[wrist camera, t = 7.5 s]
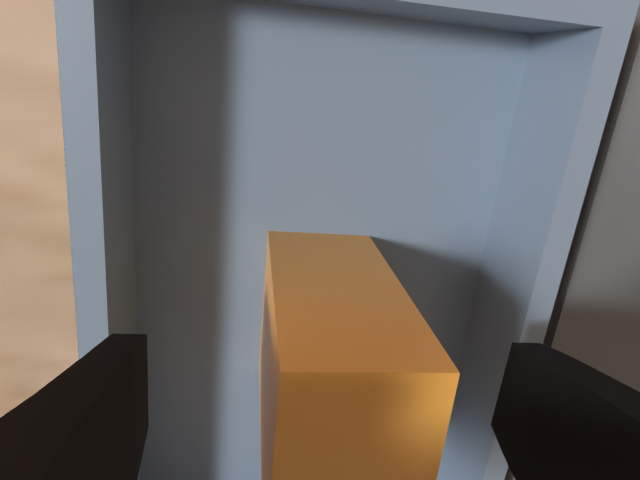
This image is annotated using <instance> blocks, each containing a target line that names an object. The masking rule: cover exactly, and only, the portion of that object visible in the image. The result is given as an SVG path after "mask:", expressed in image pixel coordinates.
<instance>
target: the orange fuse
mask: <svg viewBox="0 0 640 480" xmlns="http://www.w3.org/2000/svg"><path fill="white" fill-rule="evenodd" d="M459 376H460V372H459V371H458V369H457V368H456V366H455V365H454V363H453V362H452V360H451V359H450V357H449V356H448V354H447V353H446V351H445V349H444V348H443V346H442V345H441V343H440V342H439V340H438V339H437V337H436V336H435V334H434V333H433V331H432V330H431V328H430V327H429V325H428V324H427V322H426V321H425V319H424V318H423V316H422V315H421V313H420V312H419V310H418V309H417V307H416V306H415V304H414V303H413V301H412V300H411V298H410V297H409V295H408V294H407V292H406V291H405V289H404V288H403V286H402V285H401V283H400V281H399V280H398V278H397V277H396V275H395V274H394V272H393V271H392V269H391V268H390V266H389V265H388V263H387V262H386V260H385V259H384V257H383V256H382V254H381V253H380V251H379V250H378V248H377V247H376V245H375V244H374V242H373V241H372V239H371V238H370V236H362V235H342V234H322V233H302V232H283V231H268V238H267V254H266V269H265V285H264V300H263V316H262V331H261V347H260V362H259V386H260V438H261V480H437V475H438V471H439V466H440V462H441V457H442V453H443V448H444V444H445V439H446V435H447V430H448V426H449V421H450V417H451V412H452V408H453V403H454V399H455V394H456V390H457V385H458V381H459Z"/></svg>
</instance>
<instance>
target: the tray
mask: <svg viewBox="0 0 640 480" xmlns="http://www.w3.org/2000/svg"><path fill="white" fill-rule="evenodd" d="M639 4H640V0H54V7H55V21H56V36H57V50H58V65H59V79H60V94H61V108H62V122H63V137H64V151H65V166H66V180H67V195H68V209H69V224H70V238H71V253H72V267H73V282H74V296H75V311H76V325H77V340H78V354H79V359H81V358H82V357H83V356H84V355H85V354H87V353H88V352H89V351H90V350H92V349H93V348H94V347H95V346H97V345H98V344H99V343H100V342H102V341H103V340H104V339H106V338H107V337H108V336H110V335H111V334H147V358H148V419H149V427H148V431H147V436H146V441H145V446H144V451H143V456H142V460H141V465H140V469H139V474H138V478H137V480H261V438H260V386H259V362H260V347H261V331H262V316H263V300H264V285H265V269H266V254H267V238H268V231H283V232H302V233H322V234H342V235H362V236H370V238H371V239H372V241H373V242H374V244H375V245H376V247H377V248H378V250H379V251H380V253H381V254H382V256H383V257H384V259H385V260H386V262H387V263H388V265H389V266H390V268H391V269H392V271H393V272H394V274H395V275H396V277H397V278H398V280H399V281H400V283H401V285H402V286H403V288H404V289H405V291H406V292H407V294H408V295H409V297H410V298H411V300H412V301H413V303H414V304H415V306H416V307H417V309H418V310H419V312H420V313H421V315H422V316H423V318H424V319H425V321H426V322H427V324H428V325H429V327H430V328H431V330H432V331H433V333H434V334H435V336H436V337H437V339H438V340H439V342H440V343H441V345H442V346H443V348H444V349H445V351H446V353H447V354H448V356H449V357H450V359H451V360H452V362H453V363H454V365H455V366H456V368H457V369H458V371H459V372H460V376H459V381H458V385H457V390H456V394H455V399H454V403H453V408H452V412H451V417H450V421H449V426H448V430H447V435H446V439H445V444H444V448H443V453H442V457H441V462H440V466H439V471H438V475H437V480H504V479H505V476H506V472H507V469H508V464H507V462H506V459H505V457H504V455H503V453H502V451H501V448H500V446H499V443H498V441H497V438H496V436H495V434H494V431H493V429H492V426H491V421H492V418H493V414H494V410H495V406H496V402H497V398H498V395H499V391H500V387H501V383H502V379H503V375H504V372H505V368H506V364H507V360H508V356H509V352H510V348H511V345H512V342H517V343H541V344H543V342H544V338H545V335H546V331H547V328H548V324H549V321H550V317H551V314H552V310H553V307H554V303H555V300H556V296H557V293H558V289H559V285H560V282H561V278H562V275H563V271H564V268H565V264H566V261H567V257H568V254H569V250H570V247H571V243H572V240H573V236H574V233H575V229H576V226H577V222H578V219H579V215H580V212H581V208H582V204H583V201H584V197H585V194H586V190H587V187H588V183H589V180H590V176H591V173H592V169H593V166H594V162H595V159H596V155H597V152H598V148H599V145H600V141H601V138H602V134H603V131H604V127H605V123H606V120H607V116H608V113H609V109H610V106H611V102H612V99H613V95H614V92H615V88H616V85H617V81H618V78H619V74H620V71H621V67H622V64H623V60H624V57H625V53H626V49H627V46H628V42H629V39H630V35H631V32H632V28H633V25H634V21H635V18H636V14H637V11H638V7H639Z"/></svg>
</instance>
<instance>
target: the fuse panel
mask: <svg viewBox="0 0 640 480" xmlns="http://www.w3.org/2000/svg"><path fill="white" fill-rule="evenodd" d="M543 344H544V345H546V346H549V347H551V348H553V349H556V350H558V351H560V352H562V353H565V354H567V355H569V356H571V357H573V358H575V359H577V360H579V361H581V362H583V363H585V364H587V365H589V366H591V367H593V368H594V369H596V370H598V371H600V372H602V373H604V374H606V375H608V376H610V377H612V378H614V379H616V380H618V381H619V382H621V383H623V384H625V385H627V386H629V387H631V388H633V389H635V390H637V391H639V392H640V4H639V7H638V11H637V14H636V18H635V21H634V25H633V28H632V32H631V35H630V39H629V42H628V46H627V49H626V53H625V57H624V60H623V64H622V67H621V71H620V74H619V78H618V81H617V85H616V88H615V92H614V95H613V99H612V102H611V106H610V109H609V113H608V116H607V120H606V123H605V127H604V131H603V134H602V138H601V141H600V145H599V148H598V152H597V155H596V159H595V162H594V166H593V169H592V173H591V176H590V180H589V183H588V187H587V190H586V194H585V197H584V201H583V204H582V208H581V212H580V215H579V219H578V222H577V226H576V229H575V233H574V236H573V240H572V243H571V247H570V250H569V254H568V257H567V261H566V264H565V268H564V271H563V275H562V278H561V282H560V285H559V289H558V293H557V296H556V300H555V303H554V307H553V310H552V314H551V317H550V321H549V324H548V328H547V331H546V335H545V338H544V342H543ZM504 480H516V479H515V477H514V476H513V474H512V472H511V470H510V468H509V466H508V469H507V472H506V476H505V479H504Z"/></svg>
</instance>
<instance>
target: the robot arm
mask: <svg viewBox="0 0 640 480" xmlns="http://www.w3.org/2000/svg"><path fill="white" fill-rule="evenodd" d="M491 426H492V429H493V431H494V434H495V436H496V438H497V441H498V443H499V446H500V448H501V451H502V453H503V455H504V457H505V459H506V462H507V464H508V466H509V468H510V470H511V472H512V474H513V476H514V477H515V479H516V480H640V392H639V391H637V390H635V389H633V388H631V387H629V386H627V385H625V384H623V383H621V382H619V381H618V380H616V379H614V378H612V377H610V376H608V375H606V374H604V373H602V372H600V371H598V370H596V369H594V368H593V367H591V366H589V365H587V364H585V363H583V362H581V361H579V360H577V359H575V358H573V357H571V356H569V355H567V354H565V353H562V352H560V351H558V350H556V349H553V348H551V347H549V346H546V345H544V344H541V343H517V342H512V345H511V348H510V352H509V356H508V360H507V364H506V368H505V372H504V375H503V379H502V383H501V387H500V391H499V395H498V398H497V402H496V406H495V410H494V414H493V418H492V421H491ZM148 427H149V419H148V358H147V334H111V335H110V336H108V337H107V338H106V339H104V340H103V341H102V342H100V343H99V344H98V345H97V346H95V347H94V348H93V349H92V350H90V351H89V352H88V353H87V354H85V355H84V356H83V357H82V358H81V359H79V360H78V361H77V362H75V363H74V364H73V365H72V366H70V367H69V368H68V369H67V370H65V371H64V372H63V373H61V374H60V375H59V376H57V377H56V378H55V379H54V380H52V381H51V382H50V383H48V384H47V385H46V386H44V387H43V388H42V389H41V390H39V391H38V392H37V393H35V394H34V395H33V396H31V397H30V398H28V399H27V400H25V401H24V402H23V403H21V404H20V405H18V406H17V407H15V408H14V409H12V410H11V411H10V412H8V413H7V414H5V415H4V416H2V417H1V418H0V480H137V478H138V474H139V469H140V465H141V460H142V456H143V451H144V446H145V441H146V436H147V431H148Z"/></svg>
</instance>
